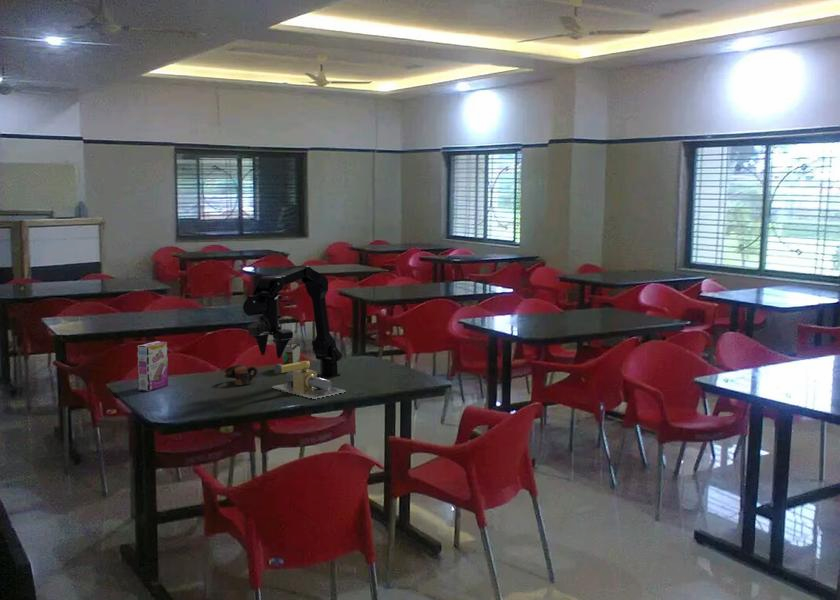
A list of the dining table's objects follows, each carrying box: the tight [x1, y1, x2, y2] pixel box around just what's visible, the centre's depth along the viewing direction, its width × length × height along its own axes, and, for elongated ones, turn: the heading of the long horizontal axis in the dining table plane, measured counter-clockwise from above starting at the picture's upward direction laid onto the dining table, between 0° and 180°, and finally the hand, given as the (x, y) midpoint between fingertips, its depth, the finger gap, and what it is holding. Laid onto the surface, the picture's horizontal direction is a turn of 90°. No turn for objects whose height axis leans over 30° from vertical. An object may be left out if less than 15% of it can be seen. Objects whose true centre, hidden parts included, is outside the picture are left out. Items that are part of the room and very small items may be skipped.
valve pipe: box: [272, 368, 346, 400], centre depth 302 cm, size 24×14×8 cm, turn 46°
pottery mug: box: [224, 363, 259, 386], centre depth 315 cm, size 12×10×8 cm
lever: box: [273, 360, 311, 374], centre depth 299 cm, size 15×4×3 cm, turn 136°
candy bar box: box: [136, 341, 169, 392], centre depth 307 cm, size 11×5×16 cm, turn 159°
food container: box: [282, 341, 302, 371], centre depth 339 cm, size 12×6×10 cm, turn 172°
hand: (270, 356), depth 300 cm, fingers open, 9 cm apart
